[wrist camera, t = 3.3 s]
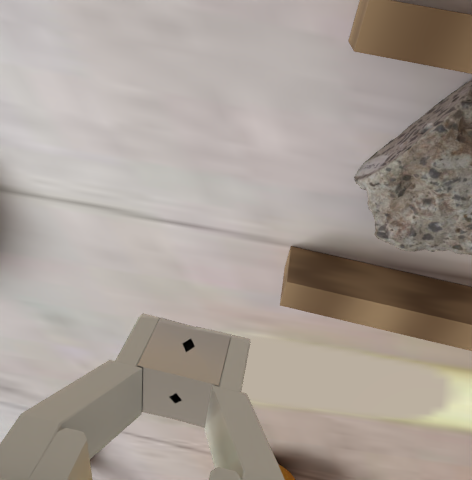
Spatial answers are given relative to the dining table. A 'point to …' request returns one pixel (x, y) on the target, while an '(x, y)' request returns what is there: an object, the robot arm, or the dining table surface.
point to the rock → (425, 180)
